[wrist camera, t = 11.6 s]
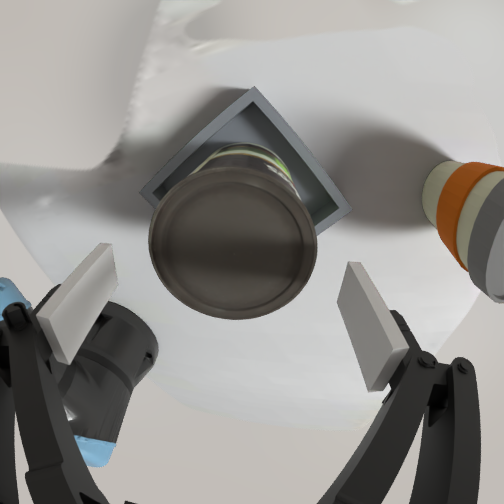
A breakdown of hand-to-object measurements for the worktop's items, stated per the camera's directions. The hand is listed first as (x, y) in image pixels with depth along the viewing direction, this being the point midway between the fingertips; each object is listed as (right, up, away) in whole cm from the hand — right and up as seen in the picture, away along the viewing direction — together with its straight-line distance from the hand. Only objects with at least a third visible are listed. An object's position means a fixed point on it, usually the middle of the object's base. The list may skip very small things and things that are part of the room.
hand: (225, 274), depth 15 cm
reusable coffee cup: (+26, +9, +14) cm, 31 cm away
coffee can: (0, +8, +14) cm, 16 cm away
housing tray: (+1, +8, +15) cm, 17 cm away
